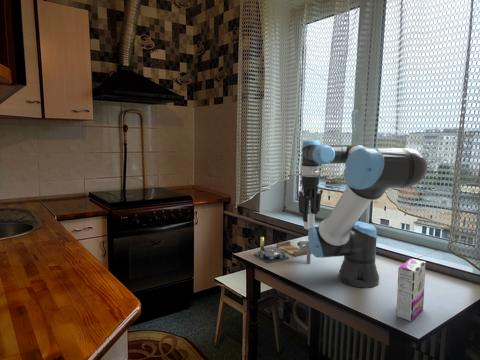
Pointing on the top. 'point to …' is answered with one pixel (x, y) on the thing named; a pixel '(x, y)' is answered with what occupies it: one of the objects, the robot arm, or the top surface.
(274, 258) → the base
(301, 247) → the mechanical component
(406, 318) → the candy bar box
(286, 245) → the seat
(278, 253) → the grey metal machine part
